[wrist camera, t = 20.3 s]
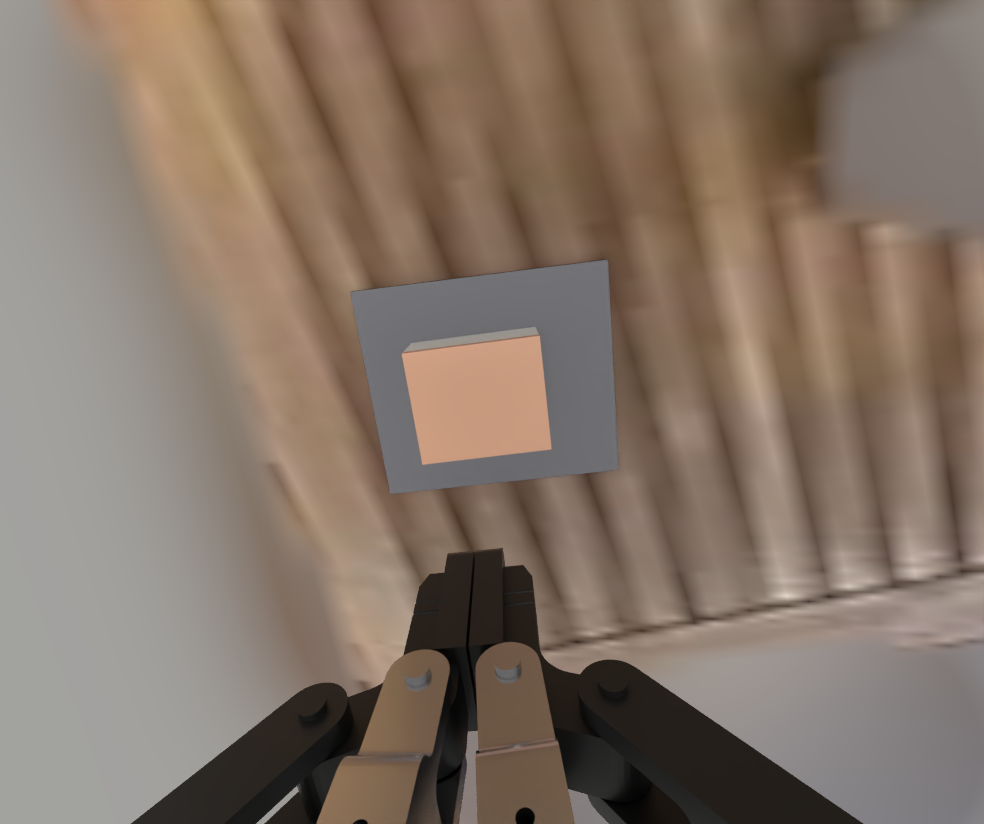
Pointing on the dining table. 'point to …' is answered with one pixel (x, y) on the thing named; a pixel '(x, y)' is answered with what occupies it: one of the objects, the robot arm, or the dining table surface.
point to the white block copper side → (478, 395)
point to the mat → (485, 309)
